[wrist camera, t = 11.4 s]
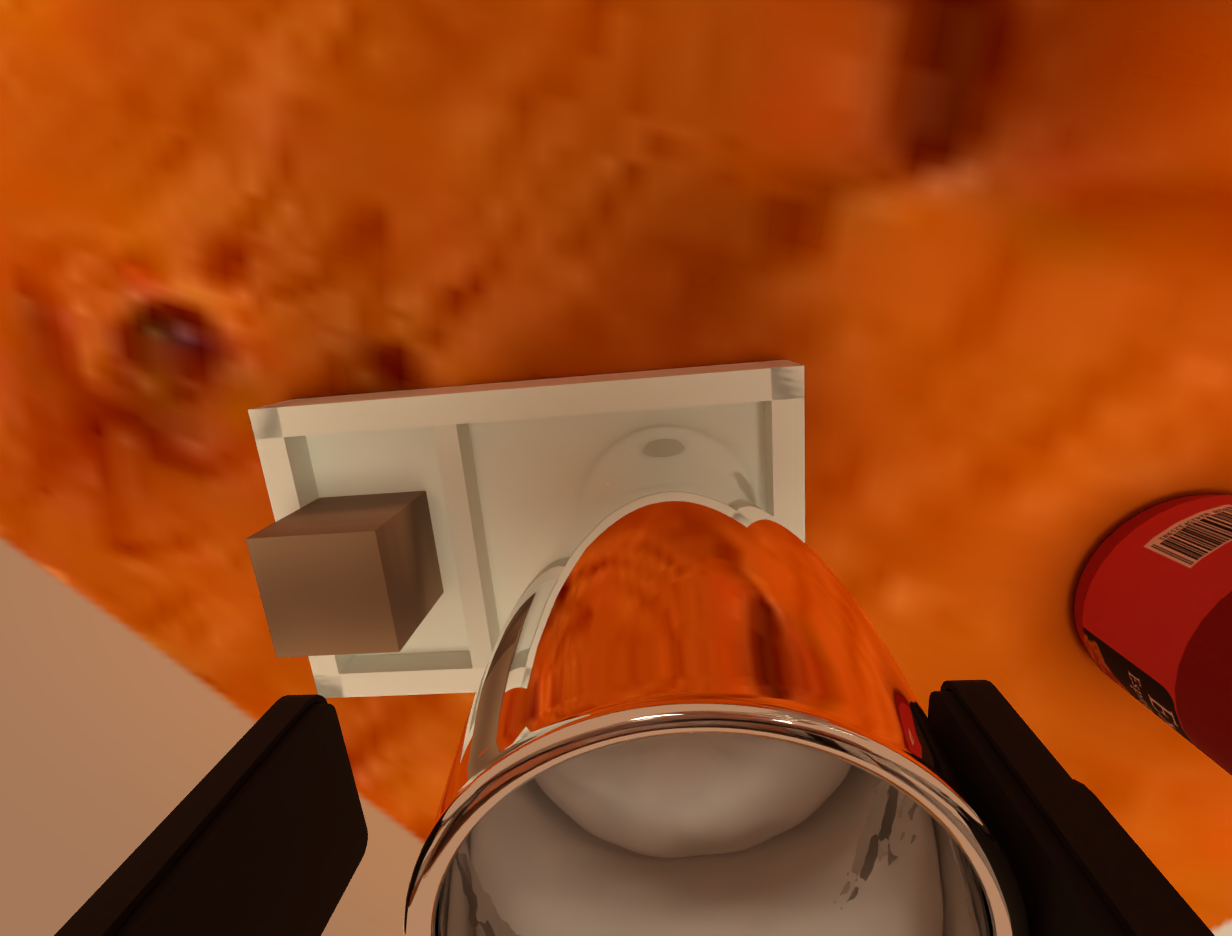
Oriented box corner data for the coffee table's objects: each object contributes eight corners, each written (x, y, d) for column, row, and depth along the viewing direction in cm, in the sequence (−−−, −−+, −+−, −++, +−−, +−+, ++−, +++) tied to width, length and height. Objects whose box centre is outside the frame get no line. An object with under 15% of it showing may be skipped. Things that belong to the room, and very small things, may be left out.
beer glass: (773, 411, 20) (1126, 698, 5) (762, 601, 21) (998, 1215, 7) (566, 412, 20) (340, 676, 5) (572, 598, 22) (414, 1170, 7)
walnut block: (319, 497, 21) (245, 538, 17) (425, 490, 21) (375, 530, 17) (341, 597, 22) (276, 657, 18) (443, 592, 22) (399, 651, 18)
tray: (290, 399, 22) (248, 409, 19) (786, 359, 20) (804, 365, 18) (350, 661, 24) (318, 698, 22) (790, 642, 23) (805, 679, 21)
